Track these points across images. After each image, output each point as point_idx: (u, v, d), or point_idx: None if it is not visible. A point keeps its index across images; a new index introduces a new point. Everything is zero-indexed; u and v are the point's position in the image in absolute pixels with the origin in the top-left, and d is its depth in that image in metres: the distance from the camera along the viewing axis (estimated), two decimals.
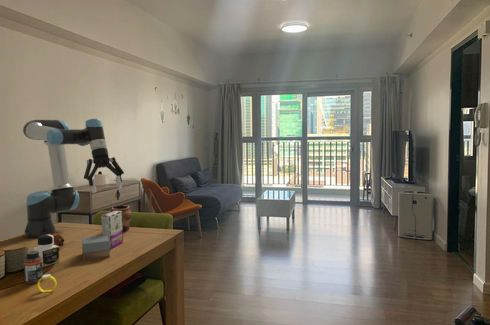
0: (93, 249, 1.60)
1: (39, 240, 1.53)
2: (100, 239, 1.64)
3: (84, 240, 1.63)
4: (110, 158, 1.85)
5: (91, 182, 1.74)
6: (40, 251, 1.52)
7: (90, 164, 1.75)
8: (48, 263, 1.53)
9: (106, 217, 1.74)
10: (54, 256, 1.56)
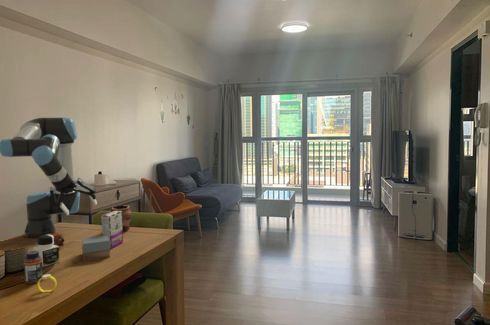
0: (94, 249, 1.60)
1: (39, 240, 1.53)
2: (101, 239, 1.64)
3: (84, 240, 1.63)
4: (75, 182, 1.63)
5: (60, 208, 1.68)
6: (40, 251, 1.52)
7: (52, 195, 1.62)
8: (48, 263, 1.53)
9: (106, 217, 1.74)
10: (54, 256, 1.56)
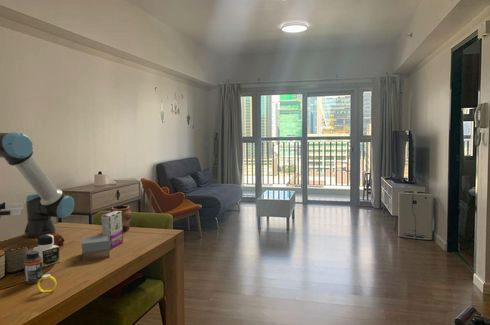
0: (93, 249, 1.60)
1: (39, 240, 1.53)
2: (100, 239, 1.65)
3: (83, 240, 1.64)
4: None
5: None
6: (40, 251, 1.52)
7: None
8: (48, 263, 1.53)
9: (106, 217, 1.74)
10: (54, 256, 1.56)
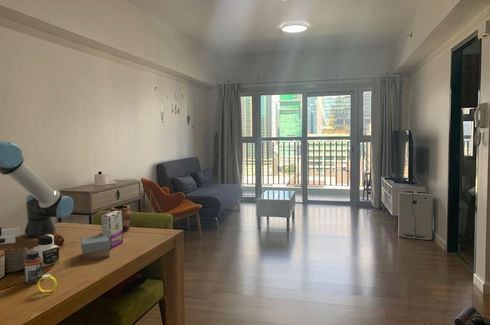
0: (93, 249, 1.60)
1: (39, 240, 1.53)
2: (100, 239, 1.64)
3: (83, 240, 1.63)
4: None
5: None
6: (40, 251, 1.52)
7: None
8: (48, 263, 1.53)
9: (106, 217, 1.74)
10: (54, 256, 1.56)
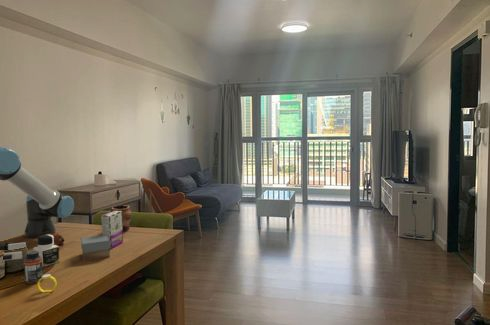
0: (93, 249, 1.60)
1: (39, 240, 1.53)
2: (100, 239, 1.64)
3: (83, 240, 1.63)
4: None
5: None
6: (40, 251, 1.52)
7: None
8: (48, 263, 1.53)
9: (106, 217, 1.74)
10: (54, 256, 1.55)
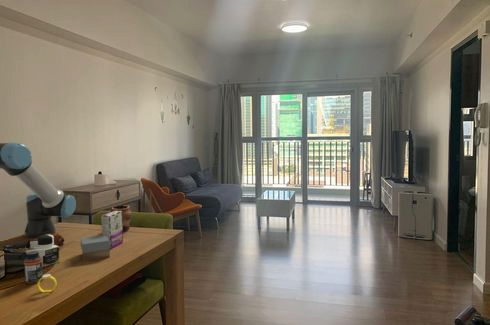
0: (93, 249, 1.60)
1: (39, 240, 1.53)
2: (100, 239, 1.64)
3: (83, 240, 1.63)
4: None
5: None
6: None
7: None
8: (48, 263, 1.53)
9: (106, 217, 1.74)
10: (54, 256, 1.56)
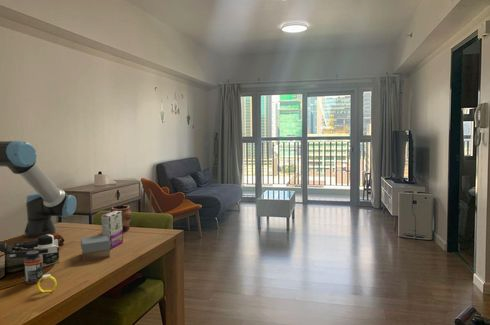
0: (93, 249, 1.60)
1: (39, 240, 1.53)
2: (100, 239, 1.64)
3: (83, 240, 1.63)
4: None
5: None
6: None
7: None
8: (48, 263, 1.53)
9: (106, 217, 1.74)
10: (54, 256, 1.55)
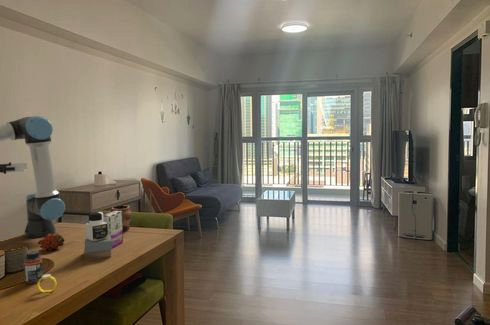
0: (95, 249, 1.61)
1: (90, 216, 1.63)
2: (103, 239, 1.65)
3: (87, 240, 1.64)
4: None
5: None
6: (90, 226, 1.61)
7: None
8: (97, 238, 1.62)
9: (106, 217, 1.74)
10: (103, 232, 1.64)
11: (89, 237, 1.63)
